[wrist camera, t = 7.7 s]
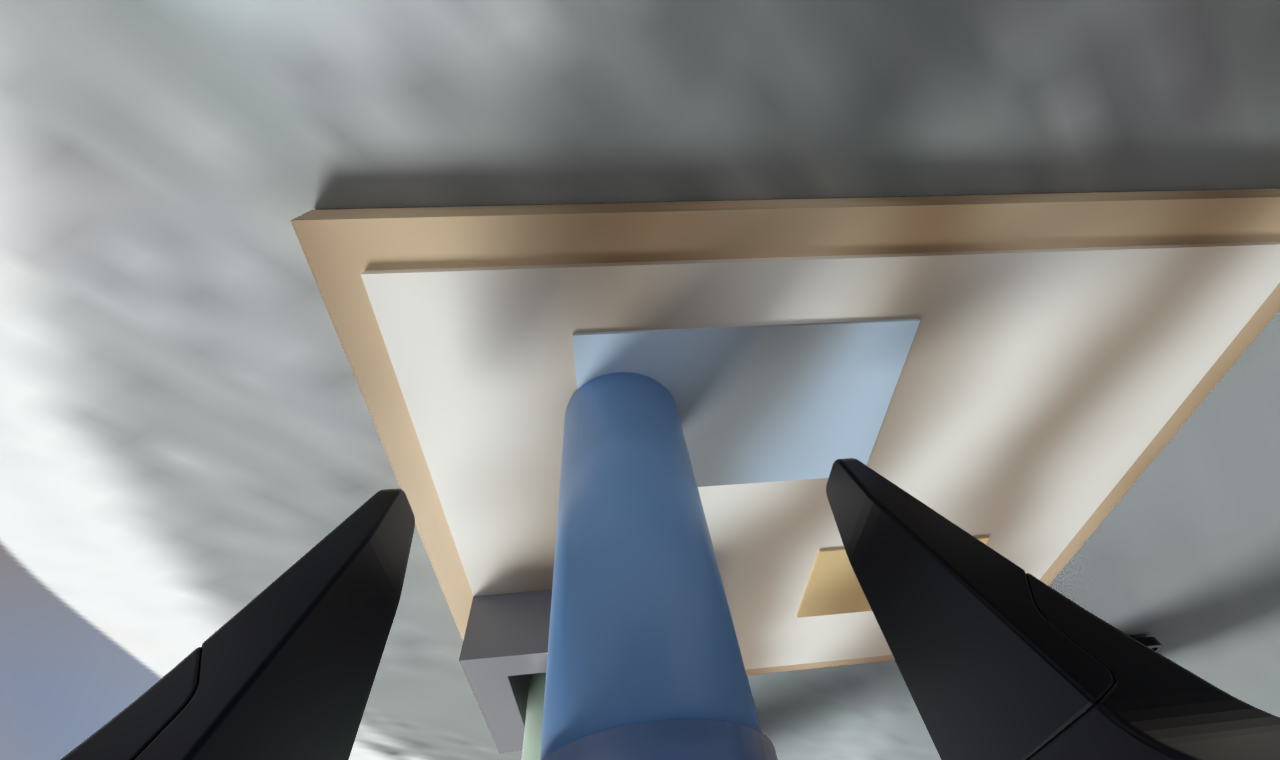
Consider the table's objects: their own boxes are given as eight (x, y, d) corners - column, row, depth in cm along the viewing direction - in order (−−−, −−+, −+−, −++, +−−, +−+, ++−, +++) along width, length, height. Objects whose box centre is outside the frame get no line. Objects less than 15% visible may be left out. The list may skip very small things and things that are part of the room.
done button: (643, 638, 15) (653, 746, 13) (643, 693, 18) (651, 794, 15) (522, 650, 15) (509, 762, 13) (537, 704, 17) (528, 809, 15)
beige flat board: (1327, 187, 11) (1394, 197, 10) (982, 632, 22) (999, 656, 21) (312, 210, 9) (281, 225, 8) (491, 680, 20) (486, 709, 19)
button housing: (684, 578, 16) (695, 638, 14) (675, 676, 20) (683, 732, 18) (472, 596, 15) (459, 660, 13) (507, 693, 19) (499, 753, 17)
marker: (684, 365, 11) (847, 864, 4) (678, 460, 12) (786, 927, 6) (554, 371, 11) (490, 912, 4) (566, 467, 12) (536, 963, 5)
